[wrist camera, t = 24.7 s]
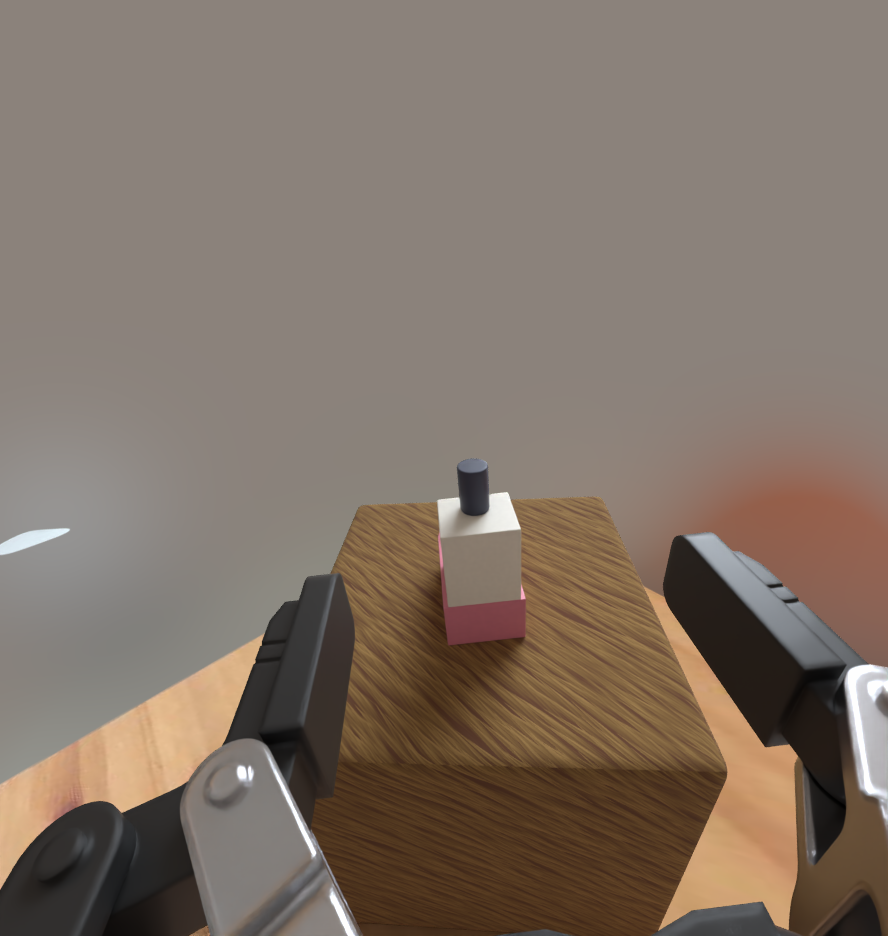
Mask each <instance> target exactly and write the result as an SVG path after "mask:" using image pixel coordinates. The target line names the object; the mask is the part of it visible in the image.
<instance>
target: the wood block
mask: <svg viewBox="0 0 888 936" xmlns="http://www.w3.org/2000/svg"><path fill="white" fill-rule="evenodd" d="M511 503H512V506H513V509H514V512H515V514H516V517H517V520H518V523H519V525H520V528H521V585H522V588H523V592H524V595H525V598H526V636H525V637H520V638H511V639H502V640H493V641H484V642H475V643H466V644H457V645H448V641H447V633H446V625H445V617H444V609H443V596H442V583H441V569H440V556H439V543H438V535H439V532H440V531H439V519H438V507H437V502H434V503H408V504H407V503H405V504H380V505H379V504H378V505H363V506H360V507H359V508H358V510H357V512H356V515H355V517H354V519H353V522H352V524H351V526H350V529H349V531H348V534H347V536H346V538H345V540H344V543H343V545H342V548H341V550H340V552H339V555H338V557H337V559H336V562H335V564H334V566H333V569H332V571H331V573H330V574H335V573H340V574H341V576H342V578H343V582H344V585H345V589H346V593H347V596H348V600H349V604H350V607H351V611H352V615H353V619H354V626H355V644H354V651H353V659H352V666H351V673H350V680H349V687H348V694H347V701H346V709H345V716H344V723H343V730H342V737H341V744H340V751H339V759H338V766H337V773H336V780H335V787H334V794H333V797H332V798H324V799H316V801H315V807H314V813H313V819H312V825H311V830H312V832H313V834H314V836H315V838H316V840H317V842H318V844H319V846H320V848H321V850H322V852H323V854H324V856H325V859H326V861H327V863H328V865H329V867H330V869H331V871H332V873H333V875H334V877H335V879H336V881H337V883H338V885H339V887H340V889H341V891H342V893H343V895H344V898H345V900H346V902H347V904H348V906H349V908H350V910H351V912H352V914H353V916H354V918H355V920H356V922H363V923H378V924H393V925H409V926H424V927H439V928H454V929H469V930H485V931H500V932H515V933H520V932H528V931H536V930H543V929H547V930H552V931H556V932H560V933H564V934H568V935H572V936H651V935H652V934H654V933H656V932H657V931H658V929H659V927H660V925H661V923H662V920H663V918H664V916H665V914H666V912H667V909H668V907H669V905H670V903H671V901H672V898H673V896H674V894H675V892H676V889H677V887H678V885H679V883H680V881H681V878H682V876H683V874H684V872H685V870H686V867H687V865H688V863H689V861H690V859H691V856H692V854H693V852H694V850H695V847H696V845H697V843H698V841H699V839H700V836H701V834H702V832H703V830H704V828H705V825H706V823H707V821H708V819H709V816H710V814H711V812H712V810H713V808H714V805H715V803H716V801H717V799H718V797H719V794H720V792H721V790H722V788H723V786H724V783H725V781H726V778H727V767H726V763H725V761H724V758H723V756H722V754H721V752H720V749H719V747H718V745H717V743H716V741H715V739H714V737H713V734H712V732H711V730H710V728H709V726H708V724H707V722H706V719H705V717H704V715H703V713H702V711H701V709H700V707H699V704H698V702H697V700H696V698H695V696H694V694H693V692H692V689H691V687H690V685H689V683H688V681H687V679H686V677H685V674H684V672H683V670H682V668H681V666H680V664H679V662H678V660H677V657H676V655H675V653H674V651H673V649H672V647H671V645H670V642H669V640H668V638H667V636H666V634H665V632H664V630H663V627H662V625H661V623H660V621H659V619H658V617H657V615H656V612H655V610H654V608H653V606H652V604H651V602H650V600H649V597H648V595H647V593H646V591H645V589H644V587H643V585H642V582H641V580H640V578H639V576H638V574H637V572H636V570H635V567H634V565H633V563H632V561H631V559H630V557H629V555H628V553H627V550H626V548H625V546H624V544H623V542H622V540H621V537H620V535H619V533H618V531H617V529H616V527H615V525H614V522H613V520H612V518H611V516H610V514H609V512H608V510H607V508H606V505H605V503H604V501H603V500H602V499H601V498H600V497H572V498H571V497H570V498H543V499H515V500H511Z"/></svg>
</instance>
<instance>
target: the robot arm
mask: <svg viewBox="0 0 888 936" xmlns="http://www.w3.org/2000/svg"><path fill="white" fill-rule="evenodd" d="M663 590H664V596H665V599H666V602H667V604H668V606H669V608H670V610H671V611H672V613H673V614H674V616H675V617H676V619H677V620H678V622H679V623H680V624H681V626H682V627H683V629H684V630H685V632H686V633H687V635H688V636H689V638H690V639H691V640H692V642H693V643H694V645H695V646H696V648H697V649H698V651H699V652H700V653H701V655H702V656H703V658H704V659H705V661H706V662H707V664H708V665H709V666H710V668H711V669H712V671H713V672H714V674H715V675H716V677H717V678H718V680H719V681H720V682H721V684H722V685H723V687H724V688H725V690H726V691H727V693H728V694H729V695H730V697H731V698H732V700H733V701H734V703H735V704H736V706H737V707H738V709H739V710H740V711H741V713H742V714H743V716H744V717H745V719H746V720H747V722H748V723H749V724H750V726H751V727H752V729H753V730H754V732H755V733H756V735H757V736H758V738H759V739H760V740H761V742H762V743H763V745H764V746H765V747H771V746H779V745H788V744H790V746H791V747H792V748H793V750H794V751H795V752H796V754H797V755H798V757H797V759H796V762H795V796H796V824H797V852H798V873H797V881H796V885H795V889H794V892H793V896H792V901H791V907H790V917H789V930H786V929H784V928H781V927H778V926H775V925H774V923H773V921H772V919H771V917H770V915H769V913H768V911H767V909H766V908H765V906H764V904H763V902H756V903H748V904H740V905H732V906H724V907H716V908H708V909H701V910H693V911H691V912H689V913H687V914H686V915H684V916H682V917H681V918H679V919H677V920H676V921H674V922H672V923H671V924H669V925H667V926H666V927H664V928H662V929H661V930H659V931H657V932H656V933H654V934H652V935H651V936H888V668H885V667H881V666H875V665H869V664H868V663H867V662H866V661H865V660H864V659H862V658H861V657H860V656H859V655H858V654H857V653H856V652H855V651H854V650H853V649H852V648H851V647H850V646H848V645H847V643H845V642H844V641H843V640H842V639H841V638H840V637H839V636H838V635H837V634H836V633H835V632H834V631H833V630H832V629H831V628H829V627H828V626H827V625H826V624H825V623H824V622H823V621H822V620H821V619H820V618H819V617H818V616H817V615H816V614H815V613H814V612H812V611H811V610H810V609H809V608H808V607H807V606H806V605H805V604H804V603H803V602H799V600H798V597H796V596H795V595H794V594H793V593H792V592H791V591H790V590H789V589H788V588H787V587H783V585H782V582H781V581H779V580H778V579H777V578H776V577H775V576H774V575H773V574H772V573H771V572H770V571H769V570H768V569H767V568H766V567H765V566H764V565H762V564H760V563H758V562H757V561H755V560H753V559H751V558H750V557H748V556H746V555H744V554H742V553H741V552H739V551H737V552H733V551H732V550H731V549H729V547H728V546H727V545H726V544H725V543H724V542H723V541H722V540H720V538H719V537H717V536H716V535H715V534H713V533H710V532H706V533H698V534H689V535H680V536H676V537H675V538H674V540H673V542H672V545H671V550H670V555H669V559H668V564H667V568H666V573H665V577H664V582H663ZM354 644H355V626H354V619H353V615H352V611H351V607H350V604H349V600H348V596H347V593H346V589H345V585H344V582H343V578H342V576H341V574H340V573H335V574H327V575H317V576H309V577H307V578H306V580H305V583H304V585H303V589H302V592H301V595H300V598H299V600H297V601H289V602H285V603H284V604H283V605H282V606H281V608H280V609H279V610H278V611H277V612H276V614H275V615H274V616H273V617H272V619H271V620H270V622H269V624H268V627H267V630H266V632H265V635H264V637H263V640H262V646H260V648H259V651H258V654H257V656H256V659H255V660H256V663H255V664H254V665H253V667H252V670H251V673H250V675H249V678H248V681H247V684H246V686H245V689H244V692H243V694H242V697H241V700H240V703H239V705H238V708H237V711H236V713H235V716H234V719H233V722H232V724H231V727H230V730H229V732H228V735H227V737H226V739H225V742H224V743H223V745H222V747H220V748H219V749H217V750H215V751H214V752H213V753H212V754H210V755H209V756H208V757H207V758H206V759H205V760H204V761H203V762H202V763H201V764H200V765H199V766H198V768H197V769H196V770H195V772H194V773H193V774H192V776H191V777H190V779H189V781H188V782H186V783H185V784H183V785H182V786H180V787H178V788H176V789H174V790H172V791H170V792H167V793H165V794H163V795H161V796H159V797H156V798H154V799H152V800H150V801H148V802H145V803H143V804H141V805H139V806H137V807H134V808H132V809H130V810H128V811H126V812H123V813H121V812H120V811H119V810H118V809H117V808H116V807H115V806H114V805H113V804H111V803H108V802H103V801H97V802H91V803H87V804H84V805H81V806H79V807H77V808H75V809H73V810H71V811H69V812H67V813H66V814H64V815H63V816H61V817H60V818H58V819H57V820H56V821H54V822H53V823H52V824H51V825H49V826H48V827H47V828H46V829H45V830H44V831H43V832H42V833H41V834H40V835H38V836H37V838H36V839H35V840H34V841H33V842H32V843H31V844H30V845H29V846H28V848H27V849H26V850H25V852H24V853H23V854H22V855H21V857H20V858H19V860H18V861H17V863H16V864H15V866H14V867H13V869H12V871H11V873H10V874H9V876H8V878H7V879H6V881H5V883H4V884H3V886H2V888H1V890H0V936H189V935H190V934H192V933H194V932H196V931H198V930H199V929H201V928H203V927H205V926H207V925H208V928H209V932H210V936H363V934H362V932H361V930H360V928H359V926H358V924H357V922H356V920H355V918H354V916H353V914H352V912H351V910H350V908H349V906H348V904H347V902H346V900H345V898H344V895H343V893H342V891H341V889H340V887H339V885H338V883H337V881H336V879H335V877H334V875H333V873H332V871H331V869H330V867H329V865H328V863H327V861H326V859H325V856H324V854H323V852H322V850H321V848H320V846H319V844H318V842H317V840H316V838H315V836H314V834H313V832H312V830H311V825H312V819H313V813H314V807H315V801H316V799H324V798H332V797H333V794H334V787H335V780H336V773H337V766H338V759H339V751H340V744H341V737H342V730H343V723H344V716H345V709H346V701H347V694H348V687H349V680H350V673H351V666H352V659H353V651H354ZM496 936H572V935H568V934H564V933H560V932H556V931H552V930H547V929H543V930H536V931H528V932H520V933H512V934H504V935H496Z"/></svg>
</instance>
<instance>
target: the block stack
mask: <svg viewBox="0 0 888 936" xmlns="http://www.w3.org/2000/svg"><path fill="white" fill-rule="evenodd" d="M457 474H458V486H459V498H450V499H440V500H437V507H438V519H439V531H440V532H439V535H438V543H439V556H440V569H441V583H442V596H443V609H444V617H445V625H446V633H447V641H448V645H457V644H466V643H475V642H484V641H493V640H502V639H511V638H520V637H525V636H526V598H525V595H524V592H523V588H522V585H521V528H520V525H519V523H518V520H517V517H516V514H515V512H514V509H513V506H512V503H511V500H510V498H509V495H508V493H507V492H506V493H496V494H489V484H488V483H489V482H488V481H489V480H488V465H487V463H486V462H485V461H483V460H481V459H467V460H464V461H462V462H460V463H459V464H458V466H457Z"/></svg>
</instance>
